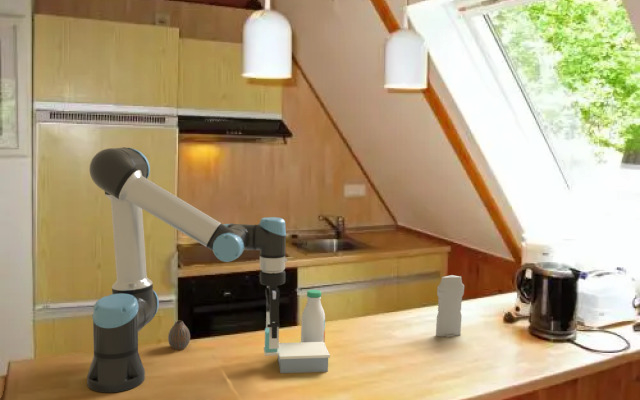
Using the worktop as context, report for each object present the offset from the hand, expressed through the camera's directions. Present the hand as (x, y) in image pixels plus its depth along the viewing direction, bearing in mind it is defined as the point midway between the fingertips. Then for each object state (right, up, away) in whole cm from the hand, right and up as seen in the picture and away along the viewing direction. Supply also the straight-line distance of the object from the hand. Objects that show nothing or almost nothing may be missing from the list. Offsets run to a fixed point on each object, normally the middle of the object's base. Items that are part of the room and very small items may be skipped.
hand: (272, 339), depth 169 cm
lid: (+7, -4, +2) cm, 8 cm away
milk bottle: (+12, -8, +16) cm, 21 cm away
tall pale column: (+60, -7, +35) cm, 70 cm away
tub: (+9, -9, +3) cm, 13 cm away
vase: (-32, -7, +15) cm, 36 cm away
